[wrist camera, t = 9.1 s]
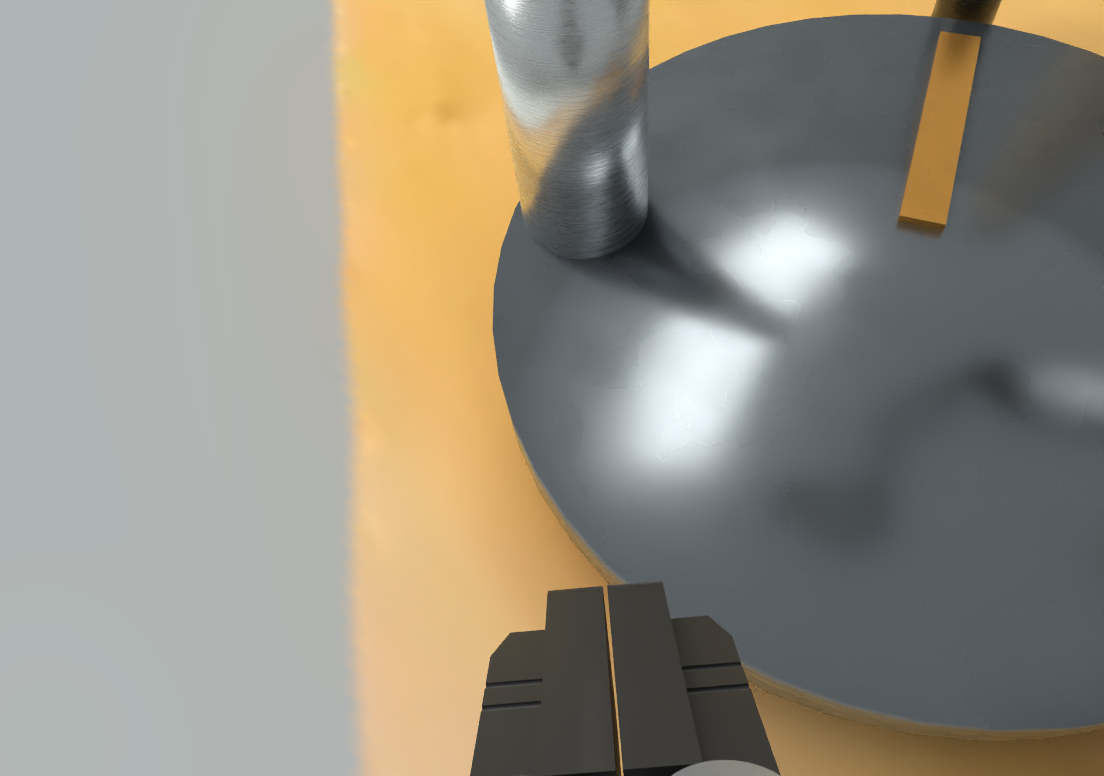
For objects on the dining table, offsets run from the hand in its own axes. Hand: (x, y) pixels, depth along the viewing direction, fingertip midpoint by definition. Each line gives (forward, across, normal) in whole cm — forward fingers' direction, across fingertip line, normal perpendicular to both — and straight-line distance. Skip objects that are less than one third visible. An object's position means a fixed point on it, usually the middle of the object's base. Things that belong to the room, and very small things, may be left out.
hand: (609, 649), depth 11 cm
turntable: (+13, -9, -1) cm, 16 cm away
